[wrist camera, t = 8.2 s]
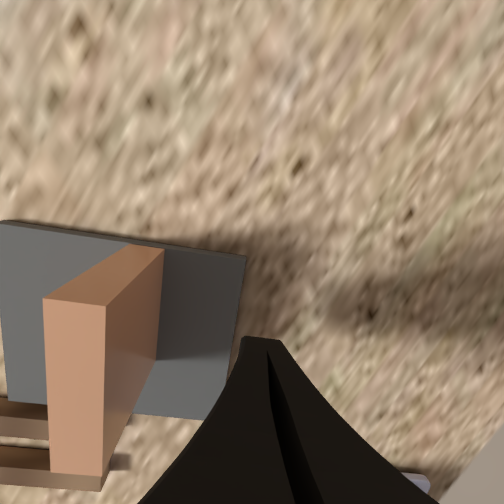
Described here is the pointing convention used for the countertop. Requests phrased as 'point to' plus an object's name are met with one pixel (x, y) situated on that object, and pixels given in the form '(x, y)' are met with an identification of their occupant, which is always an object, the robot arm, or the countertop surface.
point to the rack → (35, 451)
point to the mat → (170, 317)
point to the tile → (99, 355)
